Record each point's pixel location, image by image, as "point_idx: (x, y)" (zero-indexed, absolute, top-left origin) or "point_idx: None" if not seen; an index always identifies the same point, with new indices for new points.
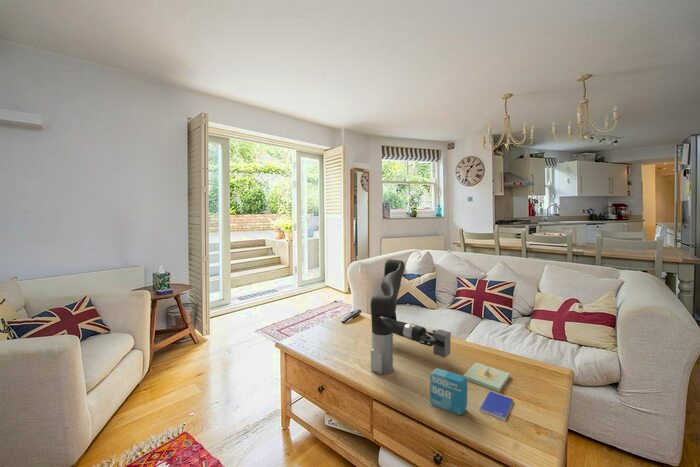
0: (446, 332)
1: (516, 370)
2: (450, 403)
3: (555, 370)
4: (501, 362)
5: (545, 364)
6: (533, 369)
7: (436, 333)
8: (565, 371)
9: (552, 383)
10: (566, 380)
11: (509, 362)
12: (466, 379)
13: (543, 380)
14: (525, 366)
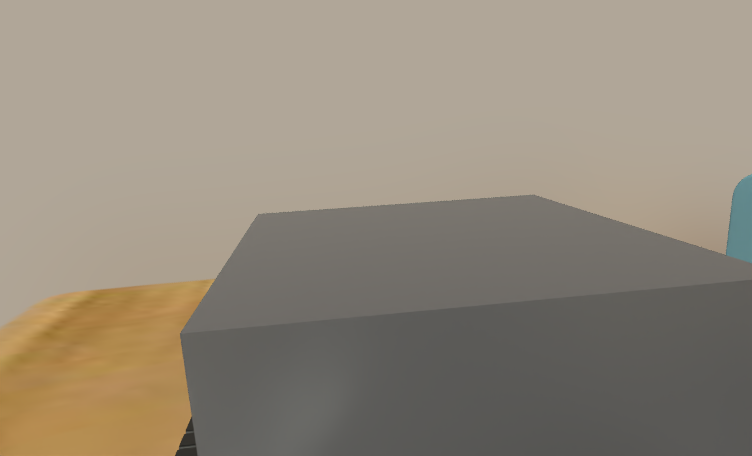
0: (321, 224)
1: (148, 355)
2: None
3: (71, 305)
4: (54, 414)
5: (10, 325)
6: (96, 331)
7: (669, 243)
8: (68, 295)
9: (205, 292)
10: (153, 285)
11: (36, 393)
12: (740, 183)
13: (197, 303)
14: (70, 349)
